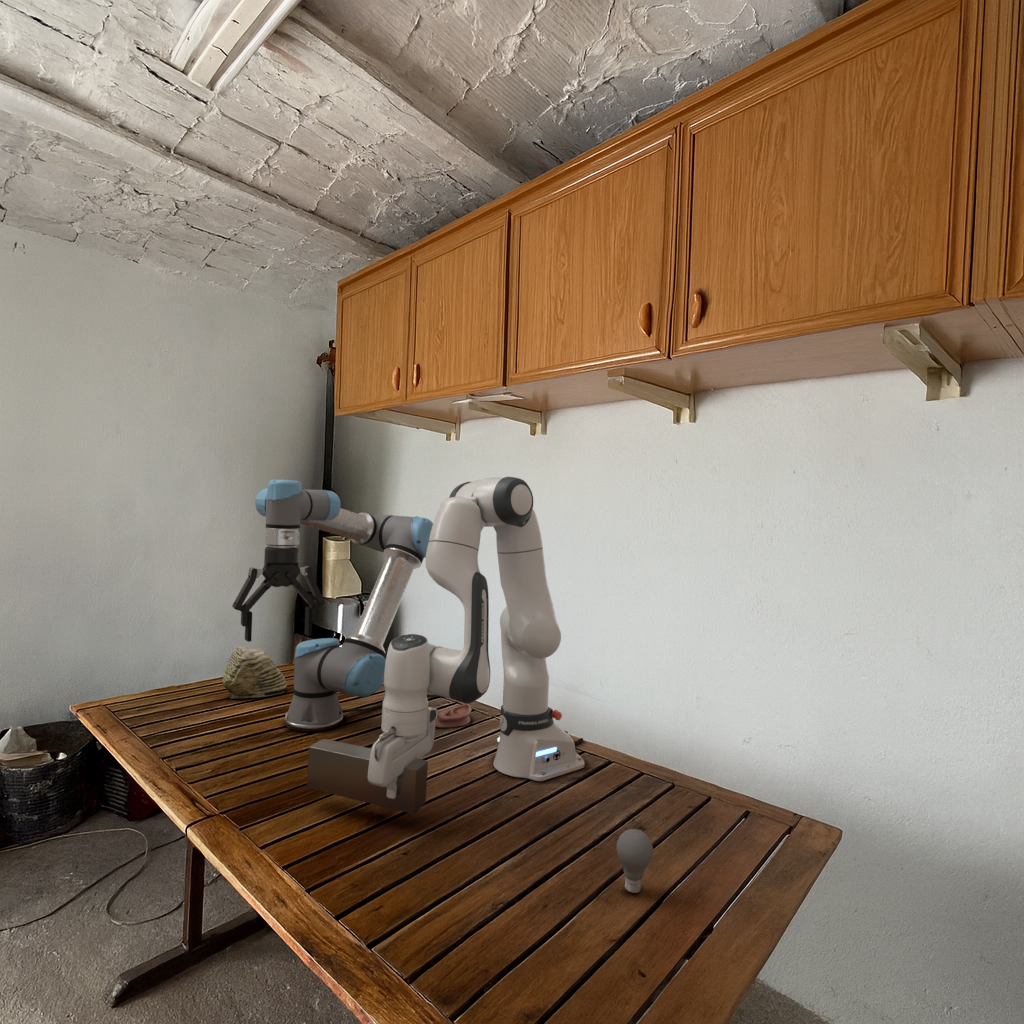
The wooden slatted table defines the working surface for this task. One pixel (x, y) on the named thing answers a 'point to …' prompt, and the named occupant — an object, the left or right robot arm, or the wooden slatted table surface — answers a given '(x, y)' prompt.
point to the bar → (363, 776)
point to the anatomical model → (454, 716)
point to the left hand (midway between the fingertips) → (278, 637)
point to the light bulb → (634, 857)
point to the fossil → (252, 674)
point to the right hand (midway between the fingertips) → (400, 790)
